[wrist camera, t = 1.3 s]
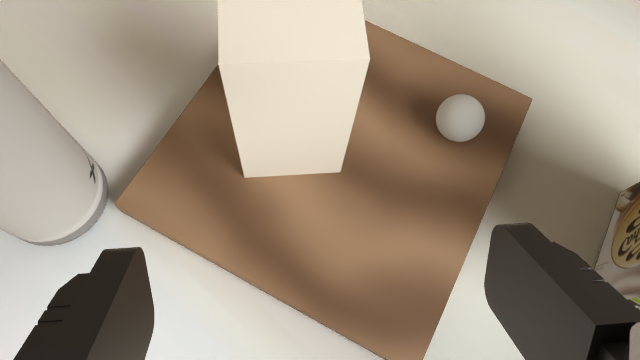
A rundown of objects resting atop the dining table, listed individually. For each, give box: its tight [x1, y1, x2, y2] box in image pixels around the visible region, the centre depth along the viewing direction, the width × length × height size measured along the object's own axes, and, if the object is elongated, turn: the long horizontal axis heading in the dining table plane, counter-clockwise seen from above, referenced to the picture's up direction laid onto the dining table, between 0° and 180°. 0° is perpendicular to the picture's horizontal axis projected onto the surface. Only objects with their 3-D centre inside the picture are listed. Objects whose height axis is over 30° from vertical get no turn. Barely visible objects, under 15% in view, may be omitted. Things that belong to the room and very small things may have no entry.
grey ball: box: [436, 94, 485, 142], centre depth 31 cm, size 3×3×3 cm
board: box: [114, 21, 532, 360], centre depth 32 cm, size 20×20×2 cm
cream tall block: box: [218, 0, 370, 178], centre depth 26 cm, size 5×6×12 cm
